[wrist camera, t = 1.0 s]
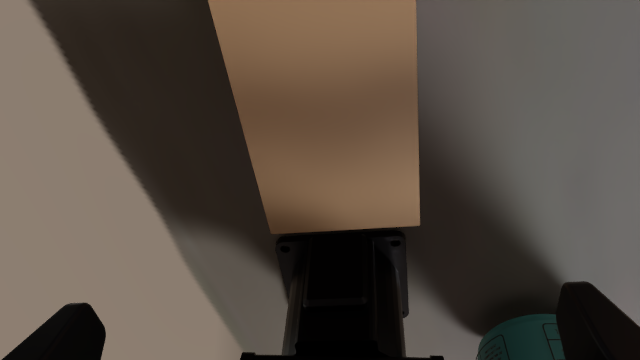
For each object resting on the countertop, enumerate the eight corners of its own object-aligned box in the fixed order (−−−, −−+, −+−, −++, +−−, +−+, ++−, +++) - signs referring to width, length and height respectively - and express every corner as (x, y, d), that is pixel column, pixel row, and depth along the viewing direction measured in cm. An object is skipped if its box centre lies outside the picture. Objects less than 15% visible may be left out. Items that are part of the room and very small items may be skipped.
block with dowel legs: (405, 127, 21) (420, 225, 16) (289, 136, 22) (270, 234, 17) (398, -82, 16) (415, -27, 12) (248, -61, 17) (207, -2, 12)
